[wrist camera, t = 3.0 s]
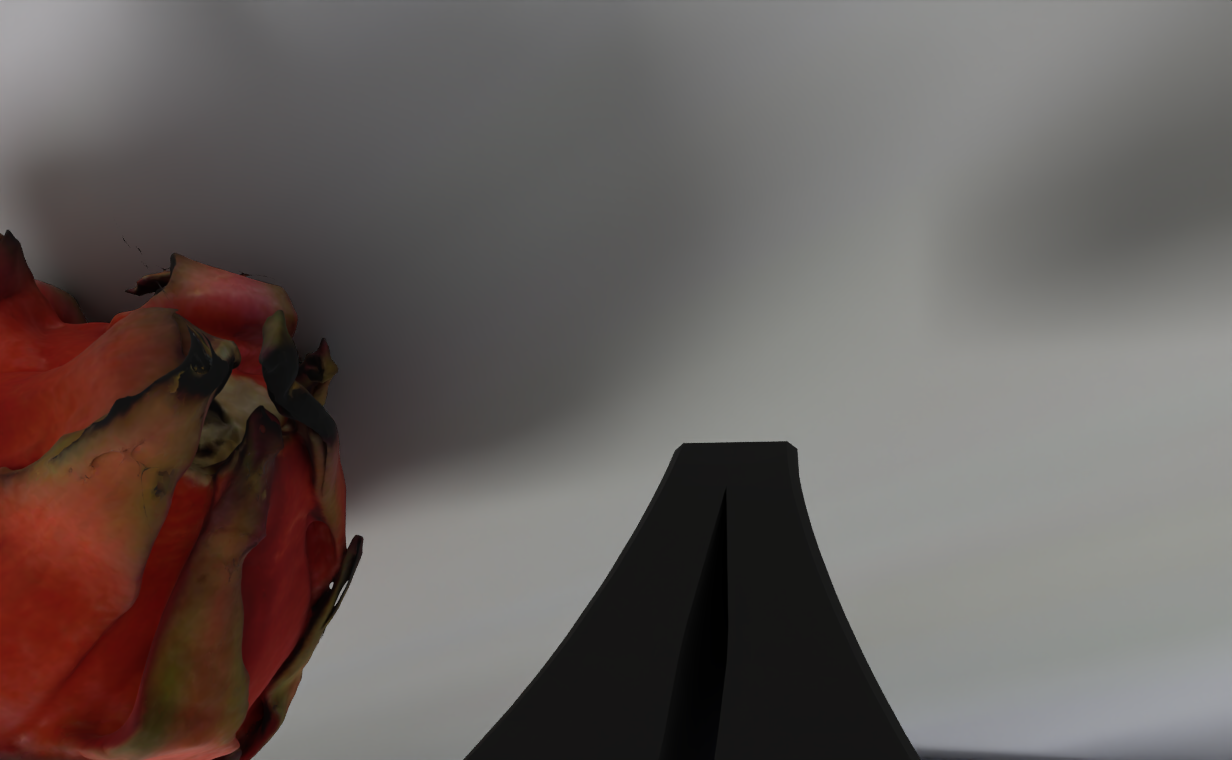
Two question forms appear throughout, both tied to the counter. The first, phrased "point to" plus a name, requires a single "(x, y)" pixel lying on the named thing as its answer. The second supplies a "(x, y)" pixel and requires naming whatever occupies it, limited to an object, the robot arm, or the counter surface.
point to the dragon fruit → (161, 517)
